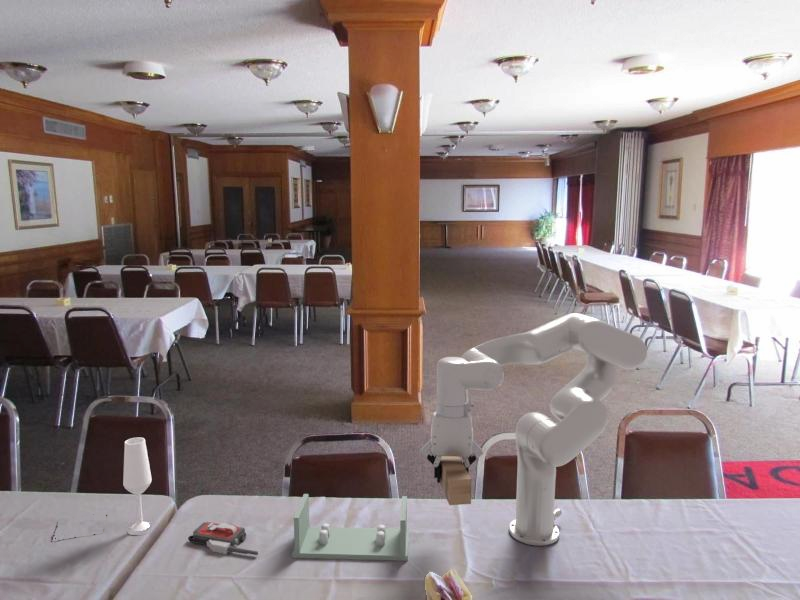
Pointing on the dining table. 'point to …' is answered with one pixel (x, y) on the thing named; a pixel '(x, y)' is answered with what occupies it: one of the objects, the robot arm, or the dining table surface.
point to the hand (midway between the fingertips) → (451, 479)
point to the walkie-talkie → (220, 537)
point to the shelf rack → (349, 539)
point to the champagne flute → (137, 475)
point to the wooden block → (455, 480)
